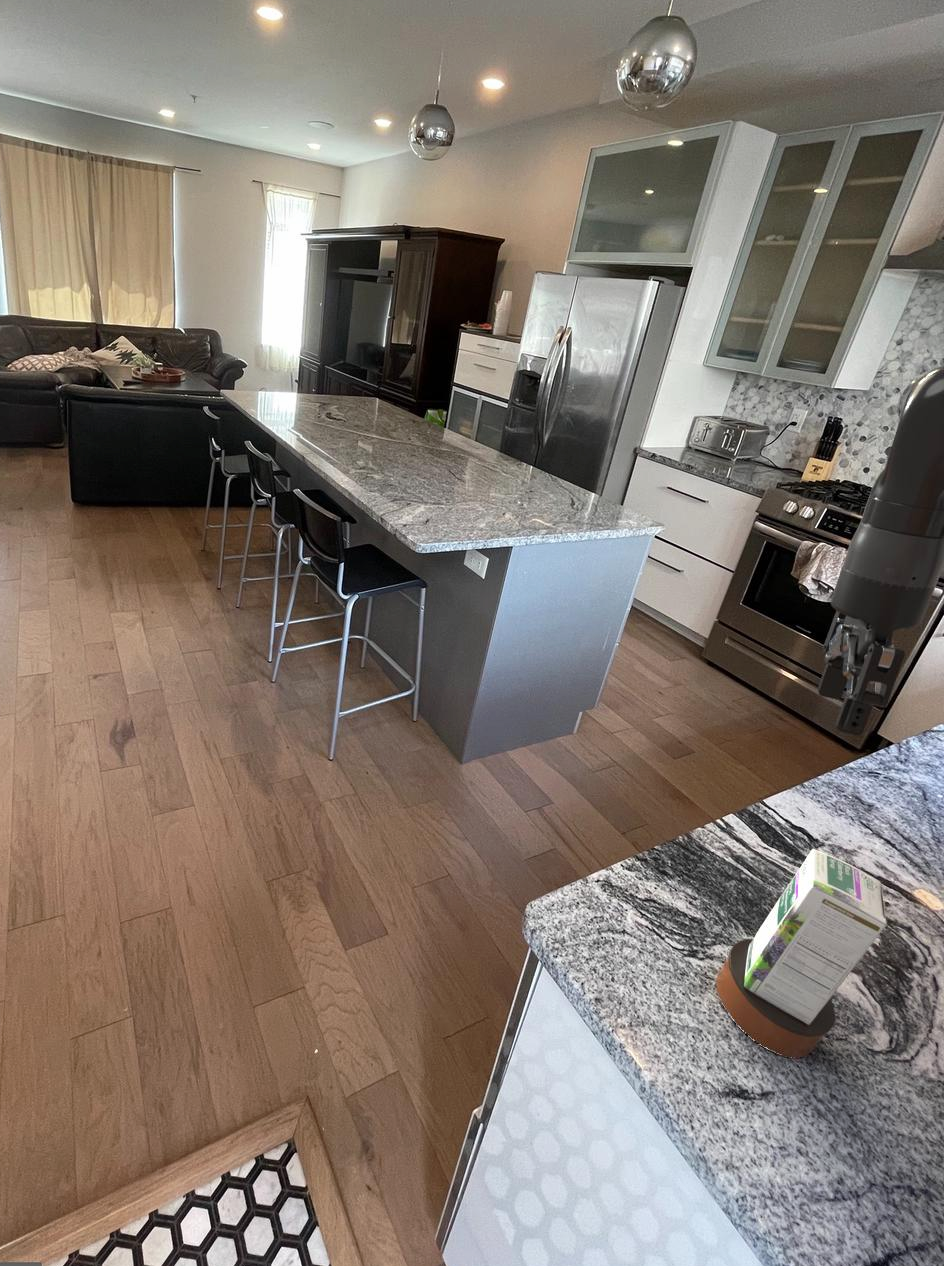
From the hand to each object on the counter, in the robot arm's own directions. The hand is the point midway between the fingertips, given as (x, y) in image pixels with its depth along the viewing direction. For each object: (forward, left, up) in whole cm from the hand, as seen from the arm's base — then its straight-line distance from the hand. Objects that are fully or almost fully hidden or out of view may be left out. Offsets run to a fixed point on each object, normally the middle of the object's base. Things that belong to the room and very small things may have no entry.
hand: (837, 713), depth 68 cm
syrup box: (+16, +10, -21) cm, 28 cm away
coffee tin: (+15, +10, -25) cm, 31 cm away
